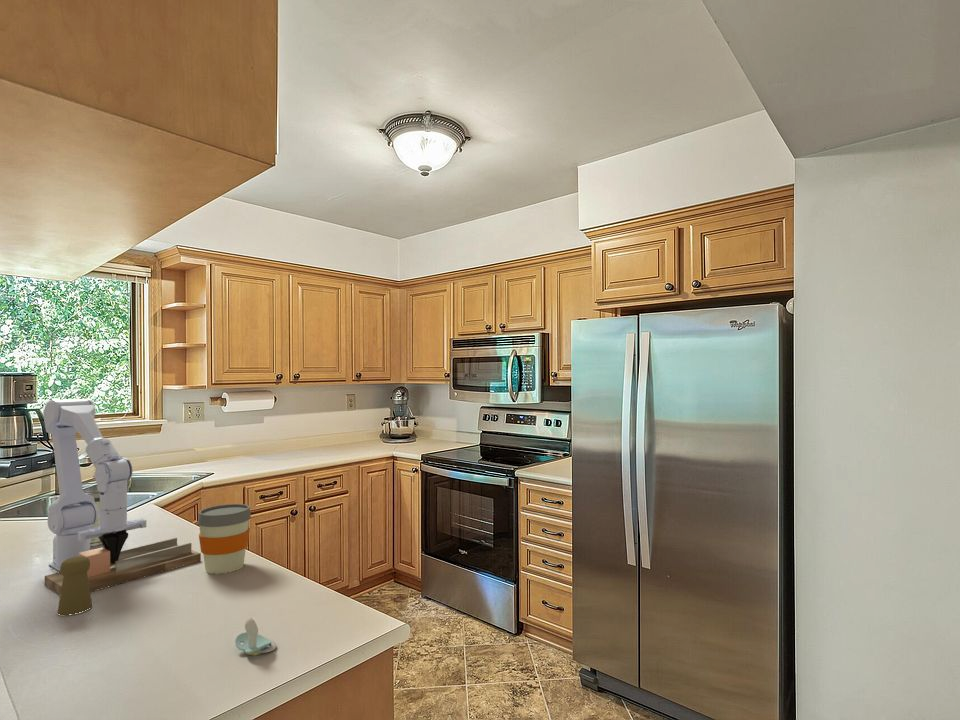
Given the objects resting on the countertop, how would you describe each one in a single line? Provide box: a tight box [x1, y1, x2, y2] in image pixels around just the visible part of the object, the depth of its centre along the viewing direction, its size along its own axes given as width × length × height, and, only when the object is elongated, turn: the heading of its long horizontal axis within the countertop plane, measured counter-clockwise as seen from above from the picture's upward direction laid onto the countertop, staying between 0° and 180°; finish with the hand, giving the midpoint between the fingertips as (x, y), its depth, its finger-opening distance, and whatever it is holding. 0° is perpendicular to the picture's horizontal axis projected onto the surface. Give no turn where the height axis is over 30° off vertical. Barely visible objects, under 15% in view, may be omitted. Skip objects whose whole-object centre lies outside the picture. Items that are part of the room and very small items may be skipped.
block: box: [78, 547, 110, 577], centre depth 133 cm, size 5×5×5 cm
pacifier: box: [234, 617, 277, 656], centre depth 99 cm, size 7×6×6 cm
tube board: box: [44, 537, 202, 595], centre depth 139 cm, size 15×30×4 cm, turn 144°
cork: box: [57, 556, 93, 615], centre depth 117 cm, size 6×6×11 cm
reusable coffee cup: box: [197, 503, 252, 575], centre depth 141 cm, size 13×13×15 cm
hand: (113, 562), depth 136 cm, fingers closed
